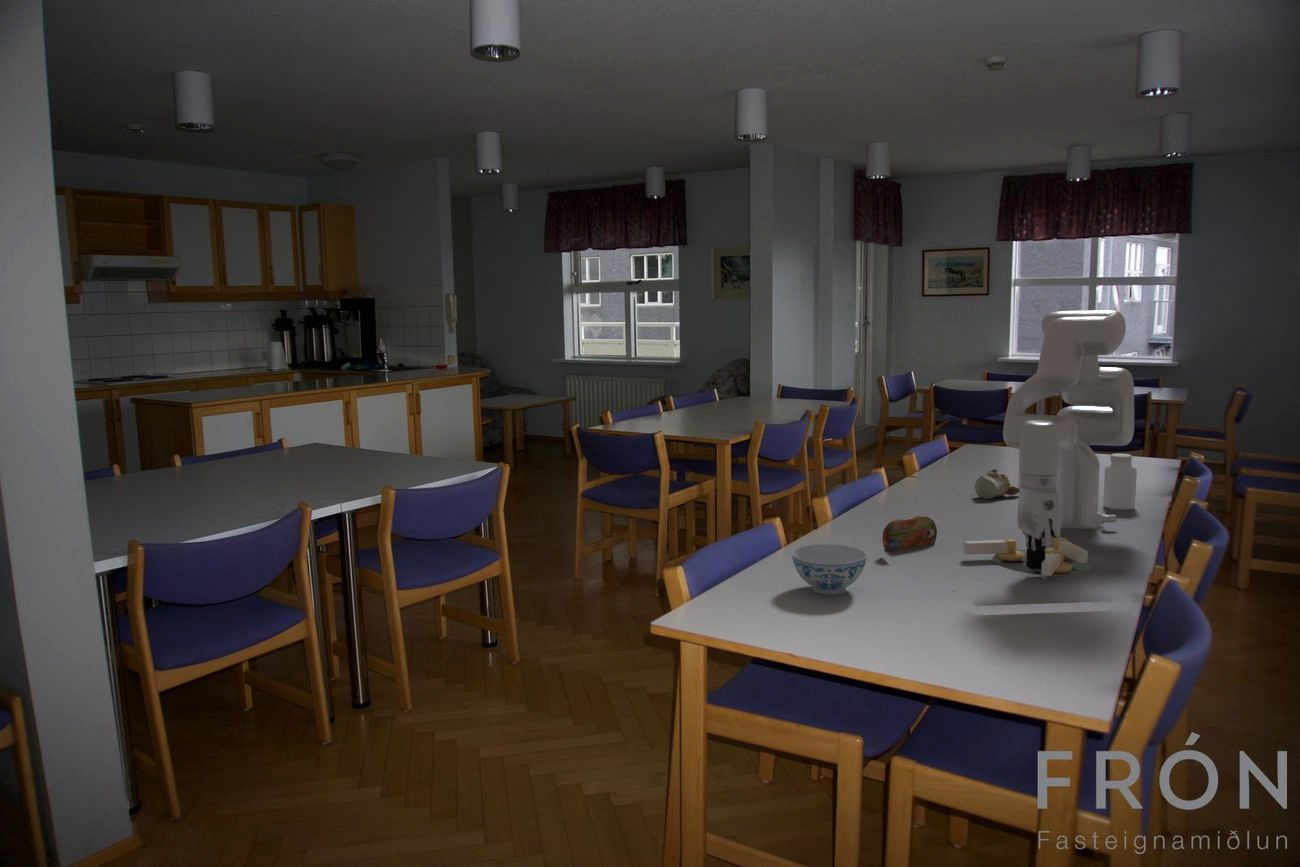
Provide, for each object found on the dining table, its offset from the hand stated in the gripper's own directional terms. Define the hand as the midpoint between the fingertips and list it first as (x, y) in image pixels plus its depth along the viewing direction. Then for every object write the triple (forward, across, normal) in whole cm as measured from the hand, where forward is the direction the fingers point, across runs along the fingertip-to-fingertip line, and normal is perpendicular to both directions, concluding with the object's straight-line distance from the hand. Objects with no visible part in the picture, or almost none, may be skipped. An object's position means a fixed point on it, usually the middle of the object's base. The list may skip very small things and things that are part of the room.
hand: (1035, 567), depth 185 cm
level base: (+3, +10, -6) cm, 12 cm away
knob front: (+1, 0, -4) cm, 4 cm away
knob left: (+2, +13, +3) cm, 13 cm away
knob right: (+2, +9, -11) cm, 15 cm away
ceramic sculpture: (+5, +84, -26) cm, 88 cm away
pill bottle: (+5, +65, -53) cm, 84 cm away
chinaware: (+3, -1, +43) cm, 43 cm away
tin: (+4, +25, +18) cm, 32 cm away
